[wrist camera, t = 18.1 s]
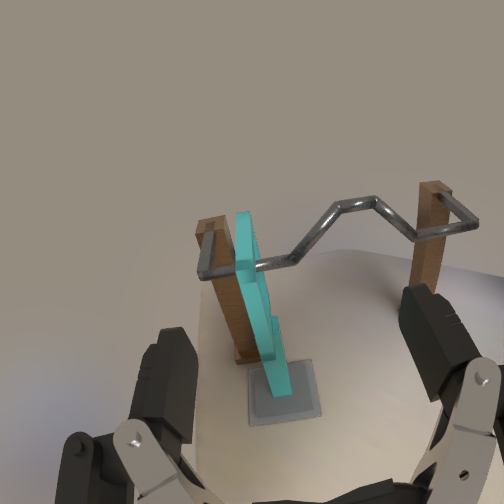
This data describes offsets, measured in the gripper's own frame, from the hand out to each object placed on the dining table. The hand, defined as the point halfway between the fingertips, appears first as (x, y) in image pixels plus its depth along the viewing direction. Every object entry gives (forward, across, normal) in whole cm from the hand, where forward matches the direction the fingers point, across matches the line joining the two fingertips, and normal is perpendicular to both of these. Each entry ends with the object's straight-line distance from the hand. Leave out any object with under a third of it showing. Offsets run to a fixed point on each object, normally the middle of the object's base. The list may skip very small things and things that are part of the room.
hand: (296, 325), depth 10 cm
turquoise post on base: (+13, +3, +28) cm, 31 cm away
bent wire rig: (+18, -6, +28) cm, 34 cm away
